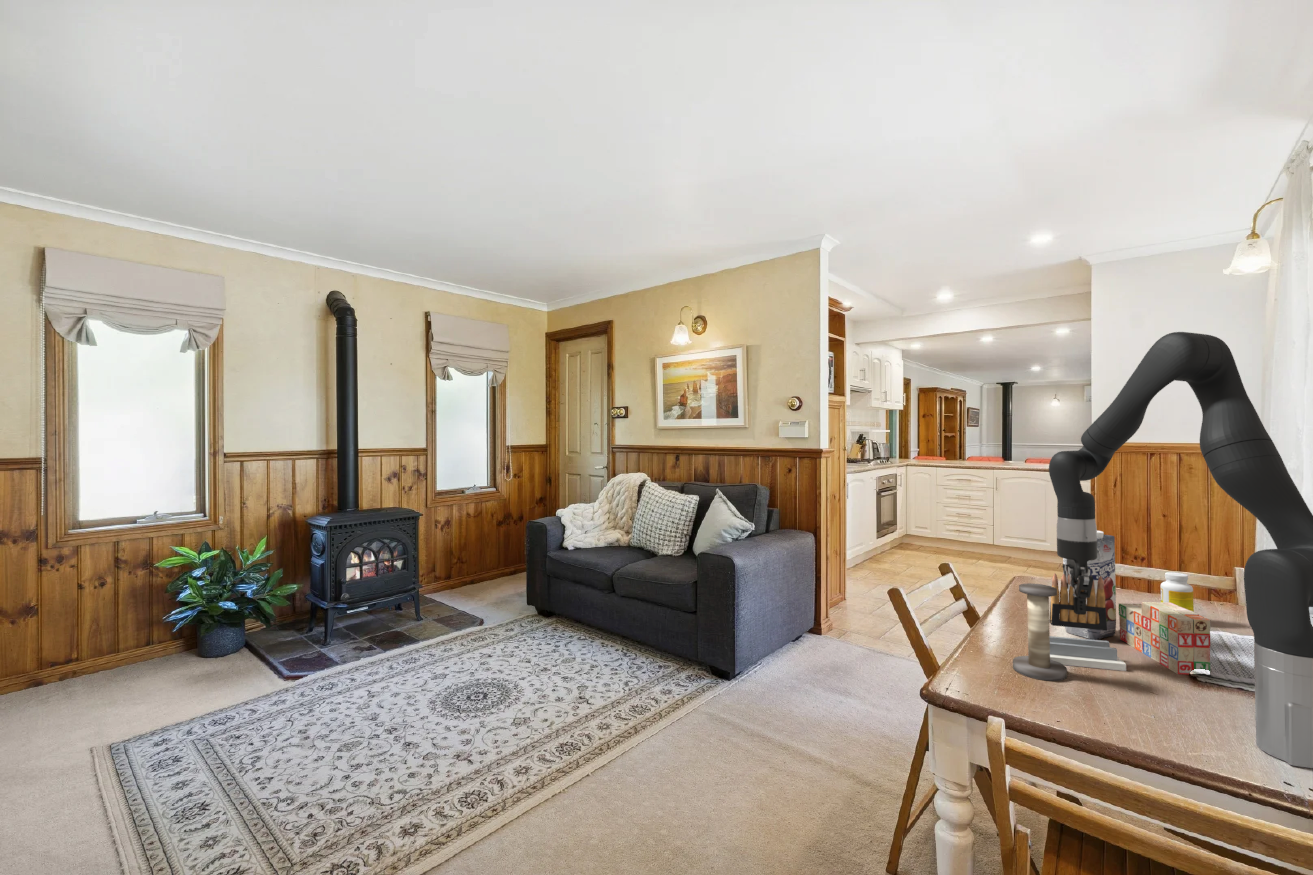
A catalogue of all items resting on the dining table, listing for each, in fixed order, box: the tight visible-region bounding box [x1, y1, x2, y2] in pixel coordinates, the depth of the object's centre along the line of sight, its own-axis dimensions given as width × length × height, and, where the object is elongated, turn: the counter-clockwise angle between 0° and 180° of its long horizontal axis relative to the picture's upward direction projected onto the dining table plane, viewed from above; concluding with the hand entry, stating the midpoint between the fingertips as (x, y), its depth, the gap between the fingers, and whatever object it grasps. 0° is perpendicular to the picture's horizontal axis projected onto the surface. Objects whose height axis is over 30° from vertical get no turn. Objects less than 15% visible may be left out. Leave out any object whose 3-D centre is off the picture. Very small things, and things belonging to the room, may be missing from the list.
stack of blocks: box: [1118, 601, 1212, 676], centre depth 135 cm, size 21×6×12 cm, turn 169°
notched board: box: [1050, 635, 1127, 672], centre depth 134 cm, size 9×15×4 cm, turn 69°
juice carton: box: [1062, 530, 1117, 640], centre depth 149 cm, size 9×10×27 cm
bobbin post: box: [1012, 582, 1068, 682], centre depth 128 cm, size 10×10×18 cm
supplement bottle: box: [1160, 571, 1195, 612], centre depth 158 cm, size 7×7×13 cm
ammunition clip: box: [1049, 572, 1107, 630], centre depth 134 cm, size 11×2×12 cm, turn 69°
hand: (1078, 611), depth 134 cm, fingers closed on ammunition clip, 2 cm apart
